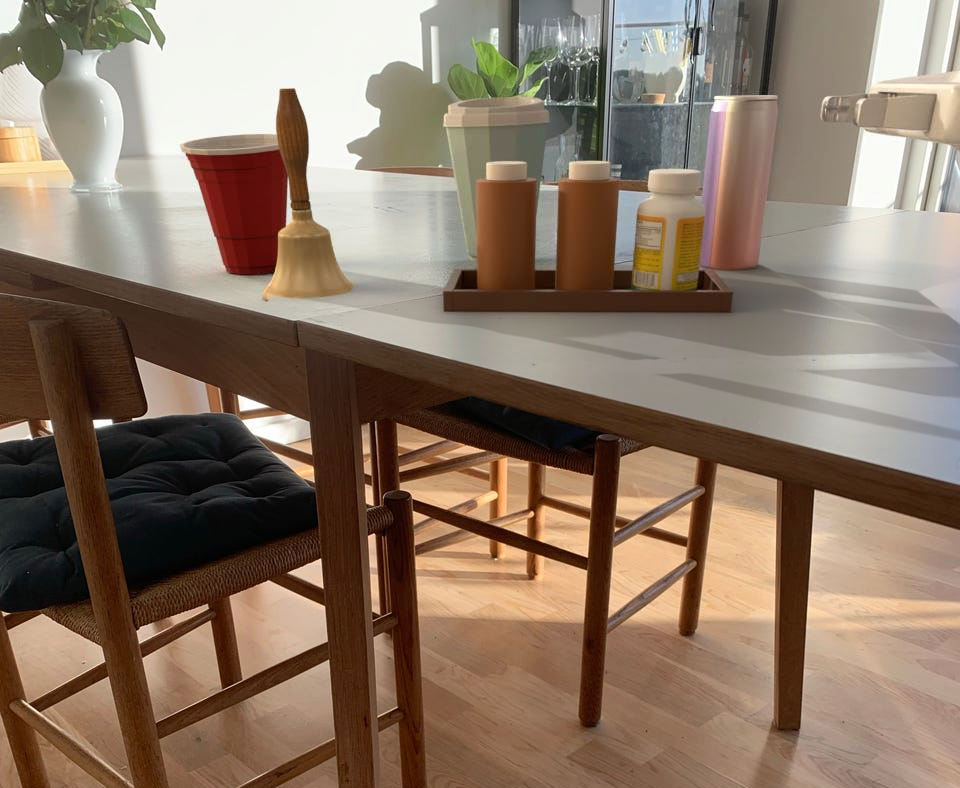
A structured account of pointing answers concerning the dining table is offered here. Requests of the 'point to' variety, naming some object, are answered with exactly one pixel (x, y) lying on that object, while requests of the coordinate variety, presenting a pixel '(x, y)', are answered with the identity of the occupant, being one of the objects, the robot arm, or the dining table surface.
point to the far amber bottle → (506, 227)
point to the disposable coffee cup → (492, 146)
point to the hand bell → (301, 219)
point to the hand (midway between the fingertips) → (839, 110)
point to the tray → (586, 296)
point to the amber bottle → (586, 227)
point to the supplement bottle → (669, 232)
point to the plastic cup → (242, 197)
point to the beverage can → (737, 180)
